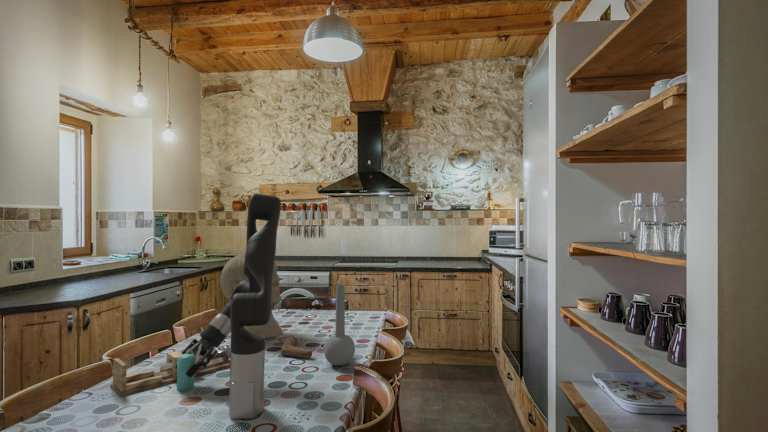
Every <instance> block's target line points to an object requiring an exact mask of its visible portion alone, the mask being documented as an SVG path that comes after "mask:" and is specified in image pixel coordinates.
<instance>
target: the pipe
mask: <svg viewBox="0 0 768 432" xmlns="http://www.w3.org/2000/svg"><path fill="white" fill-rule="evenodd" d="M298 344H299V340H298V338H297V337H296V336H294V335H289V336H286V337H285V338H284V341H283V344H282V348H281V351H280V354H281V355H282V356H283V355H284V356H288V357H293V358H297V359H298V358H299V359H303V360H308V359H310V358H311V357H312V356H313V351H312V350H309V349H307V348H302V347H298Z"/></svg>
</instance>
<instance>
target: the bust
mask: <svg viewBox="0 0 768 432" xmlns="http://www.w3.org/2000/svg"><path fill="white" fill-rule="evenodd" d="M245 253H246V252H243V253H241V254H237V255H235V256H233V257H231V258H230V259H228V261H227V262H226V263H225V264H224V266H223V269H222V270H221V275H220V277H219V279H220V280H219V281H220V282H219V283H220V289H221V291H222V293H223V295H224V297H225V298H226V299H227V300H228V301H229V299H230V297H231V295H232V293H233V291H234V289H235V287H236V286H237V285H238V284H239V283H240V282H242V281H244V280H248V281H249V279H248V277H247V276H246V275H245V274H244V273H243V268H244V261H245ZM280 289H281V287H280V276H279V274H278V265H277V263H276V262H275V261H274V268H273V276H272V299H271V314H270V319H269V321H268V323H267V324H265V325H260V326H244V328H245V329H246V330H247V331H249V332H250V333H253V334H255V335H258V336H261V337H263V338H264V340H266V339H270V338H272V337H276V336H279V335H281V334H282V333H283V332H282V328H281V326H280V324H279V321H278V320H276V318H275V317H274V315H273V309H274V307H276V306H277V305H278V304H279V303H281V301H282V296H281V294H280Z"/></svg>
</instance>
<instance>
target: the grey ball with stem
mask: <svg viewBox="0 0 768 432" xmlns="http://www.w3.org/2000/svg"><path fill="white" fill-rule="evenodd" d="M345 286H346V285H345V284H337V285H336V297H335V299H336V300H335V326H334V327H335V331H334V333H333V335H331V336H329V337H328V338H327V339H326V341H325V344H324V349H323V351H324V352H323V353H324V357H325V359H326V361H327V362H328V363H329V364H331V365H333V366H336V367H341V366H342V367H343V366H346V365H348V364H349V363H350V362H351V361H352V360H353V358H354V356H355V353H356V345H355V342H354V340H353V338H352V337H351V336H350V335H348V334H345V333H346V332H345V331H346V330H345V328H346V327H345V325H346V324H345V323H346V321H345V318H346V314H345V313H346V305H345V304H346V301H345V300H346V298H345V297H346V287H345Z"/></svg>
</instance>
